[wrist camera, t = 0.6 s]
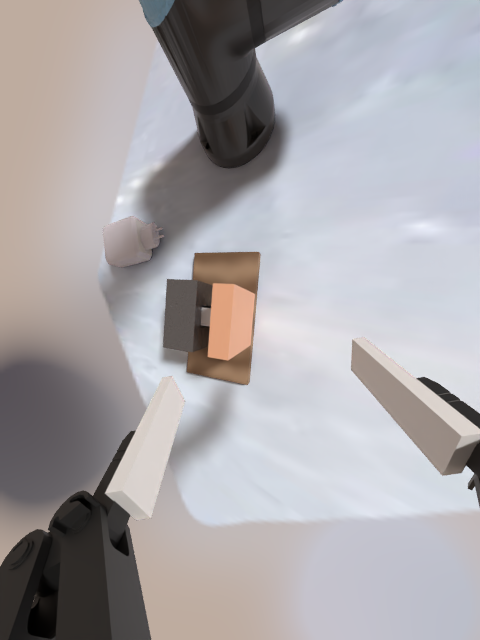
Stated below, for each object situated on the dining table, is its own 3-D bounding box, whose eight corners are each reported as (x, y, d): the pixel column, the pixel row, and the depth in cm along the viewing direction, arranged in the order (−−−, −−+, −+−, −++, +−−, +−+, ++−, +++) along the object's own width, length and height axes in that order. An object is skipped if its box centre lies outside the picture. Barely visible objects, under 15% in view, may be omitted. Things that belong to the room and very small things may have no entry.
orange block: (212, 291, 37) (174, 281, 26) (255, 293, 35) (233, 283, 23) (209, 339, 38) (170, 350, 27) (250, 345, 35) (228, 360, 24)
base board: (198, 255, 40) (194, 253, 39) (260, 254, 36) (259, 251, 34) (190, 370, 42) (186, 372, 40) (249, 382, 37) (247, 384, 36)
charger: (172, 256, 42) (124, 268, 47) (168, 217, 42) (120, 233, 47) (157, 249, 38) (106, 263, 43) (152, 205, 38) (101, 224, 43)
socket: (192, 286, 39) (167, 279, 31) (217, 287, 37) (197, 280, 30) (189, 340, 40) (163, 347, 32) (213, 344, 38) (192, 352, 30)
